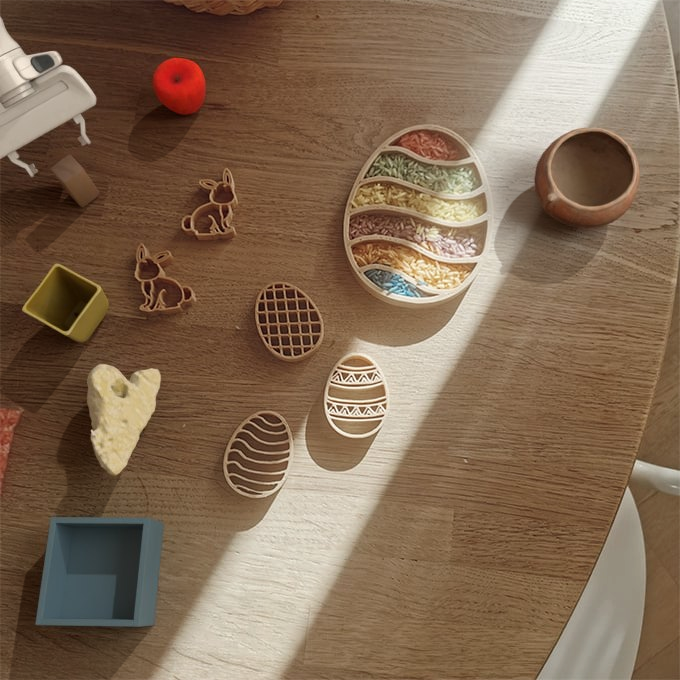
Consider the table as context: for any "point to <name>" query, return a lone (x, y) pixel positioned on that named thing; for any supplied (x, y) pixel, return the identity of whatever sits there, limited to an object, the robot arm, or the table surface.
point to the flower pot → (68, 303)
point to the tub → (100, 572)
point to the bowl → (587, 178)
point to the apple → (180, 85)
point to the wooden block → (75, 180)
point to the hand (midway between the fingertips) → (61, 160)
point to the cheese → (119, 412)
